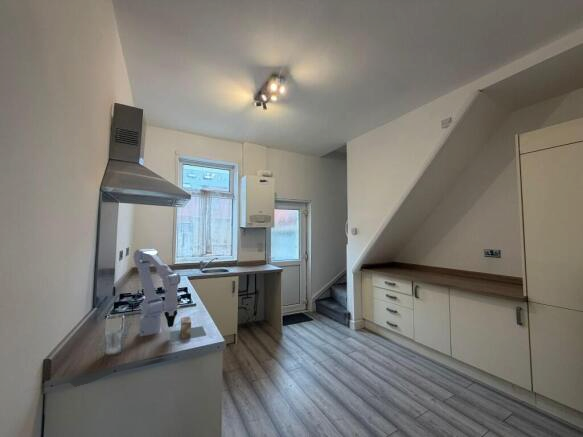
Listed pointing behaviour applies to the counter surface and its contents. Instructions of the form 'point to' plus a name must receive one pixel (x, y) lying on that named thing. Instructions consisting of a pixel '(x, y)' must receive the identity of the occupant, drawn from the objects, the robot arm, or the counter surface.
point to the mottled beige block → (185, 327)
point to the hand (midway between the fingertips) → (170, 326)
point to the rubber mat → (194, 333)
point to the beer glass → (114, 333)
